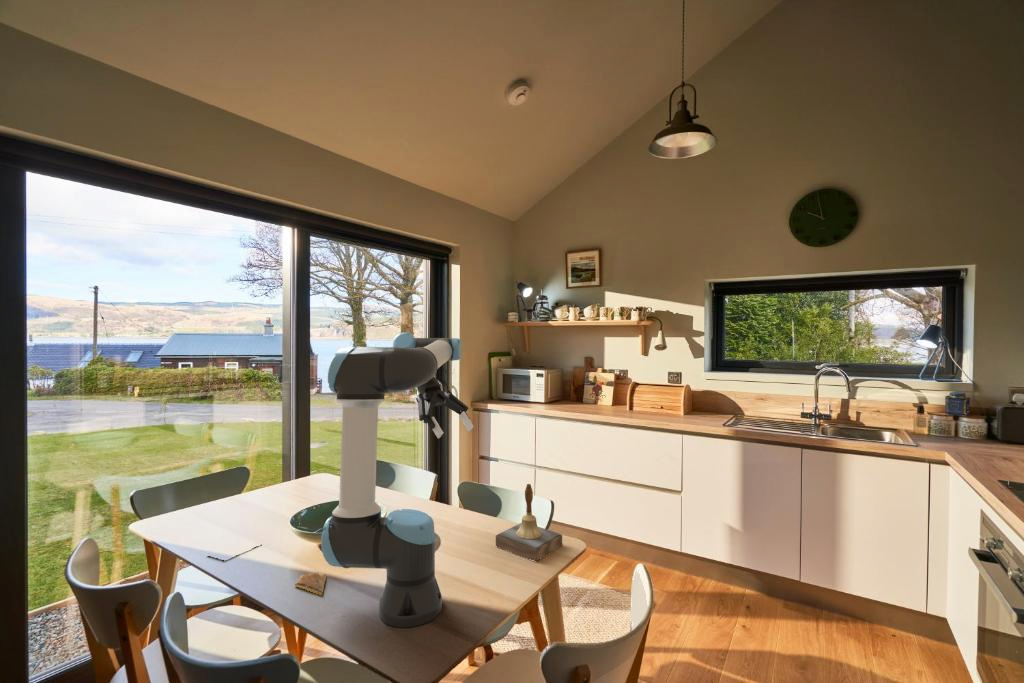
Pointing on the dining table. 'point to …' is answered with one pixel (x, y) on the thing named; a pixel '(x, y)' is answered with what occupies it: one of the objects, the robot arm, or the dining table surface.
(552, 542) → the walnut stand
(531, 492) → the hand bell
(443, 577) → the dining table surface
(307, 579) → the shard
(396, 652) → the dining table surface
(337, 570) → the dining table surface
